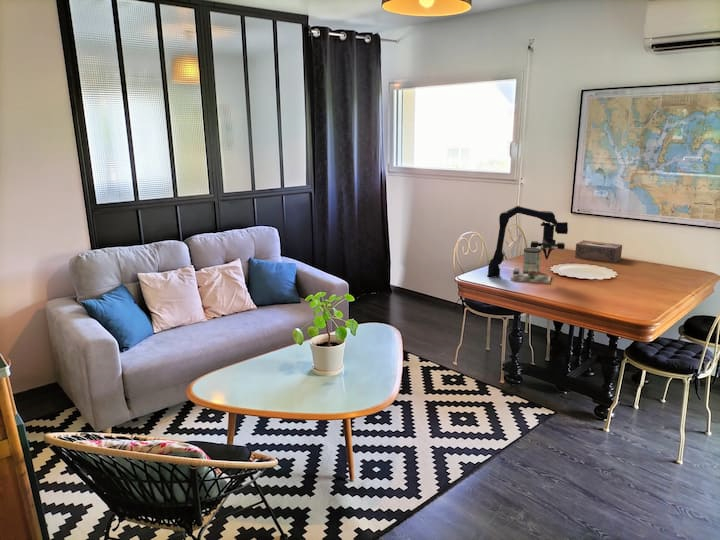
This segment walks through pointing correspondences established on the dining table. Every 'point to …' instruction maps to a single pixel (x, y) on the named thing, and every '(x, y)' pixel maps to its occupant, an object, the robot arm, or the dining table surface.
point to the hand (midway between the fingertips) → (546, 259)
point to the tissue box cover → (598, 251)
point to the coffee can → (531, 259)
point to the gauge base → (529, 277)
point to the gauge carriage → (531, 272)
